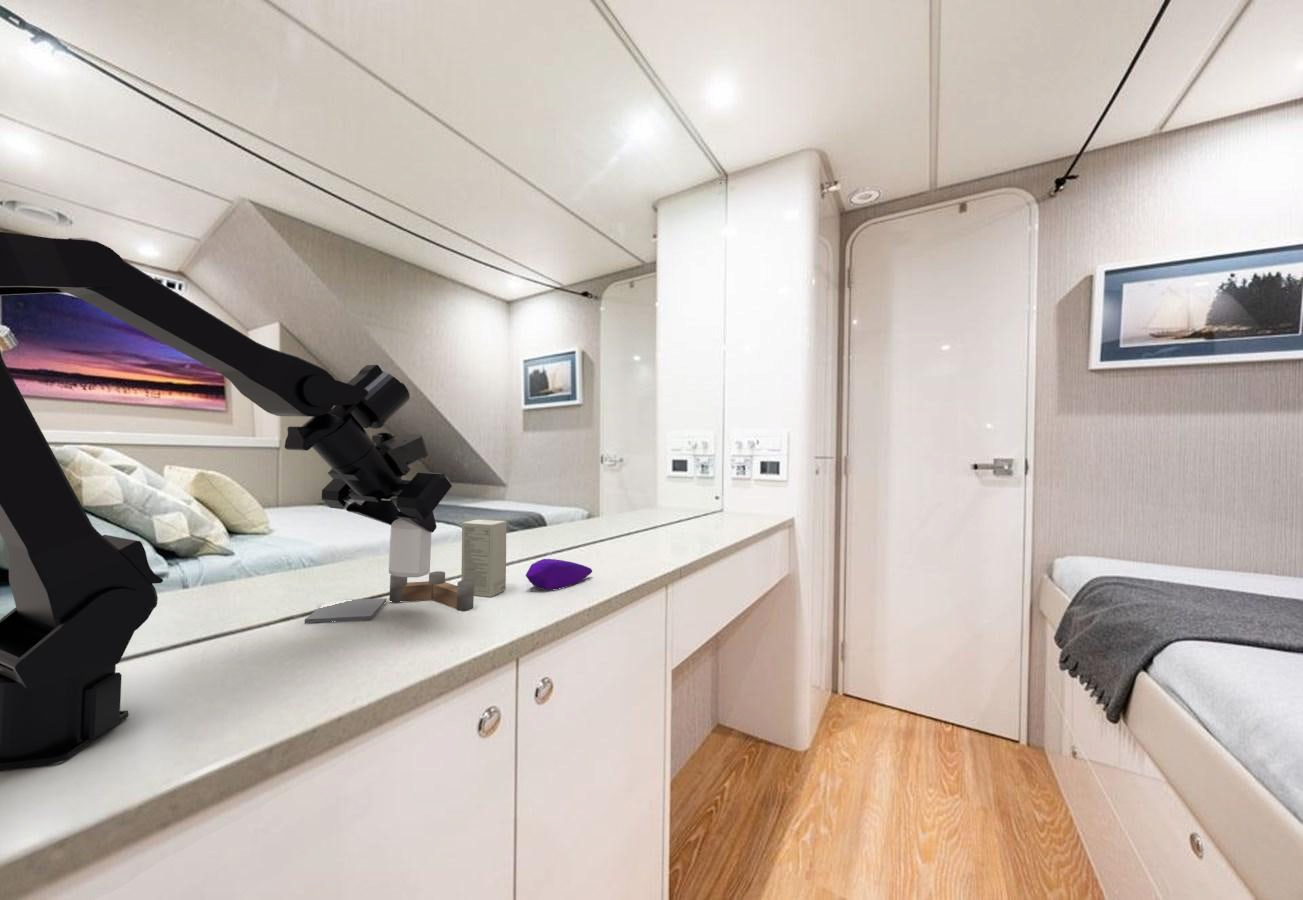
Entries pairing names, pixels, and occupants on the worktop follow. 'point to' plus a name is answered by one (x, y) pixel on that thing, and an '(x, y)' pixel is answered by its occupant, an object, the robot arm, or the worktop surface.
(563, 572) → the purple faceted pebble
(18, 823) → the worktop surface
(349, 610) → the coaster
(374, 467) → the robot arm
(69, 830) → the worktop surface
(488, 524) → the skincare box
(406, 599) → the rail
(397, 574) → the eye dropper bottle
